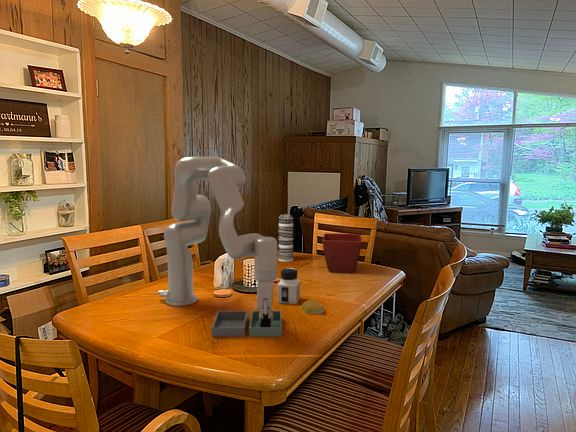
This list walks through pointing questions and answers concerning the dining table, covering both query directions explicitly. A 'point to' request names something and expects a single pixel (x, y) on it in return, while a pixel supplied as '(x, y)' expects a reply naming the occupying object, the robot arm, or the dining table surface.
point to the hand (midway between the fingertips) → (265, 325)
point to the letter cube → (261, 317)
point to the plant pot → (342, 251)
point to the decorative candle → (285, 238)
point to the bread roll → (312, 307)
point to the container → (289, 287)
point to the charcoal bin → (230, 324)
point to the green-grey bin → (265, 331)
